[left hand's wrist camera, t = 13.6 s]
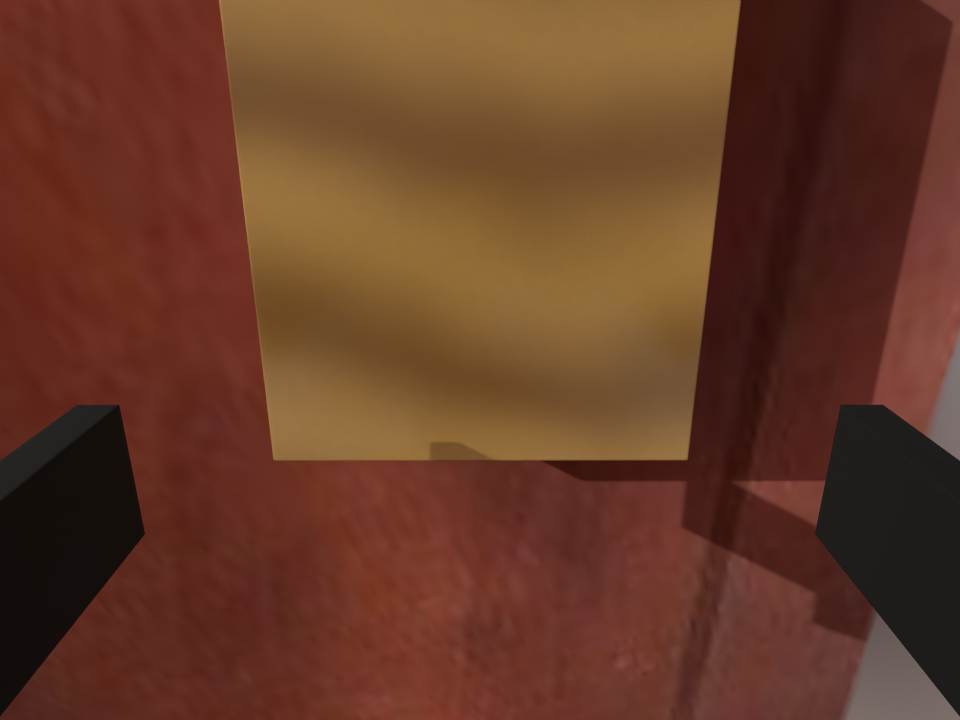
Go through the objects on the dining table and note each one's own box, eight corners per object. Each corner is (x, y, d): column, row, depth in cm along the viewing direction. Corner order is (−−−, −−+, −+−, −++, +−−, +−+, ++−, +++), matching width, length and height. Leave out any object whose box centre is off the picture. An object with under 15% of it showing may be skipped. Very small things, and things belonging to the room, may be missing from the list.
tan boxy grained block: (290, -178, 20) (175, -354, 12) (669, -179, 20) (783, -355, 12) (333, 359, 25) (273, 461, 18) (627, 359, 25) (688, 461, 18)
